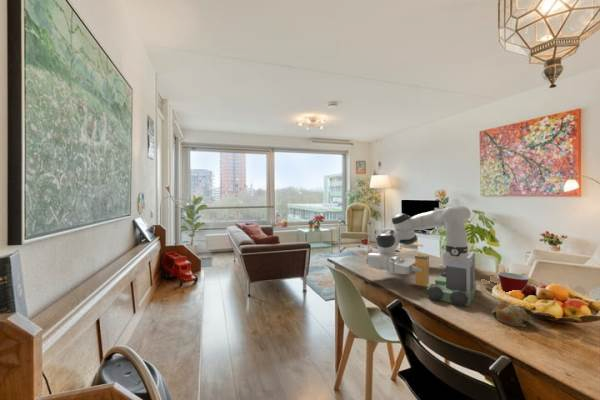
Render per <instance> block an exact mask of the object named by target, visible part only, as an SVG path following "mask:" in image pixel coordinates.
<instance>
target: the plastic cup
mask: <svg viewBox="0 0 600 400" xmlns="http://www.w3.org/2000/svg"><path fill="white" fill-rule="evenodd" d="M497 275H498V277H499V282H500V287H502V288H501V290H502V289H503V291H505V292H509V291H512V290H522V289H523V288H524V287H525V286H526V287H527V285H528V282H529V280H530V279H531V277H529V276H527V275H523V274H520V273H512V272H505V271H504V272H502V271H499V272H497Z"/></svg>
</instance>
